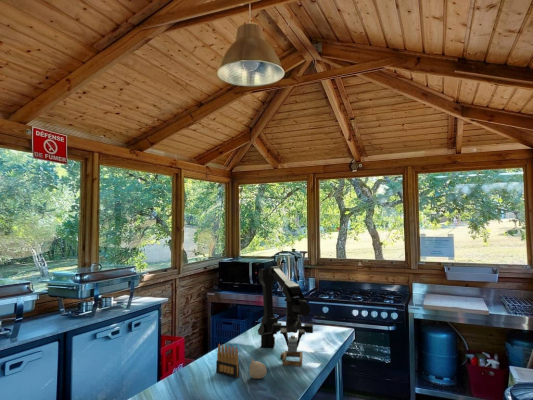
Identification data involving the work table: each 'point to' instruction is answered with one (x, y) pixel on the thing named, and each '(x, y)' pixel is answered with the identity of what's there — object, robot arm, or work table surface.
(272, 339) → the robot arm
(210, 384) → the work table surface
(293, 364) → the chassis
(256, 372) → the garlic bulb
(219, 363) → the ammunition clip
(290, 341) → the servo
